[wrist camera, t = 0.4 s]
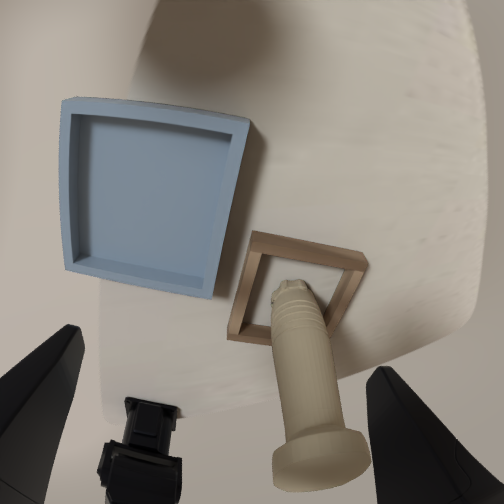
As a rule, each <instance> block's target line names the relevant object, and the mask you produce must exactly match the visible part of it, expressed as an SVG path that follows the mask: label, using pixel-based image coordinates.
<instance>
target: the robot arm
mask: <svg viewBox="0 0 504 504" xmlns="http://www.w3.org/2000/svg"><path fill="white" fill-rule="evenodd" d="M84 351H85V344H84V340H83V336H82V332H81V329H80V327H78V326H74V325H70V324H67V325H65V326H64V327H63V328H61V329H60V330H59V331H57V332H56V333H55V334H54V335H53V336H51V337H50V338H49V339H47V340H46V341H45V342H43V343H42V344H41V345H40V346H39V347H37V348H36V349H35V350H34V351H32V352H31V353H30V354H29V355H28V356H26V357H25V358H24V359H23V360H21V361H20V362H19V363H18V364H17V365H15V366H14V367H13V368H12V369H10V370H9V371H8V372H7V373H6V374H4V375H3V376H2V377H1V378H0V504H44V501H45V496H46V492H47V488H48V483H49V479H50V475H51V471H52V467H53V464H54V460H55V456H56V453H57V449H58V445H59V442H60V439H61V435H62V432H63V429H64V425H65V422H66V419H67V416H68V413H69V410H70V407H71V404H72V401H73V397H74V394H75V390H76V385H77V380H78V376H79V372H80V368H81V364H82V360H83V355H84ZM366 395H367V396H366V397H367V416H368V431H369V438H370V445H371V452H372V460H373V467H374V475H375V485H376V494H377V504H504V484H503V483H501V482H500V481H499V480H498V479H497V478H496V477H494V476H493V475H492V474H491V473H490V472H489V471H488V470H487V469H486V468H485V467H484V466H483V465H482V464H480V463H479V462H478V461H477V460H476V459H475V458H474V457H473V456H472V455H471V454H470V453H469V452H468V450H466V448H465V447H464V446H463V445H462V444H461V443H460V442H459V441H458V439H456V438H455V436H454V435H453V434H452V433H451V432H450V431H449V430H448V428H447V427H446V426H445V425H444V424H443V423H442V422H441V421H440V420H439V418H438V417H437V416H436V415H435V414H434V413H433V412H432V411H431V410H430V409H429V407H427V405H426V404H425V403H424V402H423V401H422V400H421V399H420V398H419V396H418V395H417V394H416V393H415V392H414V391H413V390H412V389H411V388H410V387H409V386H408V385H407V384H406V382H405V381H404V380H403V379H402V378H401V377H400V376H399V375H398V374H397V373H396V372H395V371H394V370H393V368H392V367H390V366H379V367H378V368H377V369H376V370H375V371H374V372H373V374H372V375H371V377H370V378H369V379H368V381H367V383H366ZM124 402H125V408H126V413H127V422H126V427H125V431H124V436H123V440H122V443H119V442H115V441H114V440H111V441H110V442H109V443H105V444H104V448H103V452H102V456H101V459H100V462H99V466H98V469H97V473H98V475H99V476H100V480H101V486H102V487H105V488H107V489H106V496H105V504H178V503H179V500H180V496H181V490H182V458H180V457H172V456H168V455H169V446H170V438H171V431H175V428H176V418H177V408H176V407H173V406H168V405H162V404H157V403H152V402H147V401H142V400H138V399H133V398H129V397H126V398H125V401H124Z"/></svg>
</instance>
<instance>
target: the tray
mask: <svg viewBox="0 0 504 504" xmlns="http://www.w3.org/2000/svg"><path fill="white" fill-rule="evenodd" d="M249 126H250V119H248V118H243V117H238V116H233V115H228V114H223V113H217V112H212V111H206V110H200V109H194V108H188V107H181V106H174V105H167V104H159V103H150V102H142V101H132V100H121V99H109V98H94V97H93V98H92V97H73V98H69V99H66V100H62V105H61V118H60V135H59V136H60V137H59V200H60V201H59V203H60V221H61V234H62V244H63V255H64V264H65V270H68V271H72V272H76V273H80V274H85V275H89V276H94V277H98V278H103V279H107V280H112V281H117V282H121V283H126V284H131V285H136V286H141V287H146V288H151V289H156V290H161V291H166V292H172V293H177V294H182V295H188V296H193V297H199V298H205V299H210V300H212V295H213V290H214V285H215V280H216V275H217V270H218V265H219V260H220V255H221V251H222V246H223V241H224V236H225V232H226V227H227V222H228V218H229V213H230V209H231V204H232V200H233V195H234V191H235V186H236V182H237V177H238V173H239V168H240V164H241V160H242V155H243V151H244V147H245V143H246V138H247V134H248V130H249Z"/></svg>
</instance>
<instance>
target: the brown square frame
mask: <svg viewBox="0 0 504 504" xmlns="http://www.w3.org/2000/svg"><path fill="white" fill-rule="evenodd" d="M261 254H268V255H273V256H279V257H284V258H290V259H295V260H301V261H306V262H311V263H317V264H322V265H328V266H333V267H339V268H344V269H345V270H344V273H343V275H342V277H341V279H340V282H339V284H338V286H337V288H336V290H335V292H334V294H333V297H332V299H331V301H330V303H329V305H328V307H327V309H326V311H325V313H324V315H323V319H324V322H325V325H326V328H327V332H328V335H329V339H330V338H331V336H332V334H333V332H334V330H335V329H336V327H337V325H338V323H339V321H340V319H341V317H342V315H343V313H344V312H345V310H346V308H347V306H348V304H349V302H350V300H351V298H352V296H353V294H354V292H355V290H356V288H357V286H358V284H359V282H360V280H361V278H362V276H363V274H364V271H365V269H366V267H367V265H368V262H367V260H366V258H365V256H364V255H363V253H362V252H358V251H353V250H348V249H344V248H339V247H334V246H329V245H324V244H319V243H314V242H309V241H304V240H299V239H294V238H289V237H284V236H279V235H274V234H269V233H264V232H258V231H253V230H252V233H251V237H250V241H249V245H248V249H247V253H246V257H245V260H244V264H243V268H242V272H241V276H240V280H239V284H238V288H237V291H236V295H235V299H234V303H233V307H232V311H231V315H230V319H229V323H228V327H227V340H232V341H239V342H246V343H253V344H261V345H269V346H272V338H271V327H268V326H261V325H254V324H248V323H242V320H243V316H244V313H245V310H246V306H247V303H248V299H249V296H250V292H251V289H252V285H253V282H254V279H255V275H256V272H257V268H258V265H259V261H260V258H261Z"/></svg>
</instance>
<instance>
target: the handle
mask: <svg viewBox="0 0 504 504" xmlns="http://www.w3.org/2000/svg"><path fill="white" fill-rule="evenodd" d="M271 307H272V313H271V338H272V350H273V351H272V352H273V358H274V364H275V370H276V376H277V382H278V388H279V394H280V400H281V407H282V413H283V419H284V426H285V436H286V443H285V444H284V445H282V446H281V447H279V448H278V449H276V450H275V451H274V453H273V457H272V469H273V483H274V486H276V487H277V488H279V489H281V490H283V491H286V492H310V491H318V490H324V489H329V488H333V487H337V486H341V485H343V484H345V483H347V482H349V481H351V480H353V479H355V478H357V477H358V476H360V475H361V474H363V473H364V471H366V469H367V468H368V467H369V466H370V464H371V456H370V451H369V448H368V445H367V442H366V440H365V438H364V436H363V435H362V433H361V432H359V431H355V430H351V429H347V428H345V423H344V419H343V414H342V408H341V402H340V396H339V390H338V384H337V378H336V372H335V366H334V360H333V355H332V349H331V343H330V339H329V335H328V332H327V328H326V325H325V322H324V319H323V316H322V314H321V311H320V309H319V306H318V304H317V302H316V300H315V298H314V295H313V293H312V291H311V290H309V289H307V286H306V284H305V282H304V281H303V280H300V279H298V280H295V281H288V280H284V281H282V282H281V283H280V287H279V288H278V289H277V290H276V291H274V292H273V293H272V298H271Z"/></svg>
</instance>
